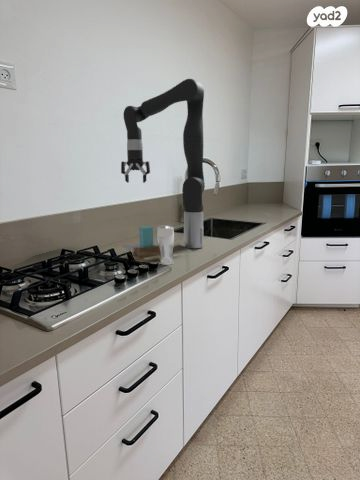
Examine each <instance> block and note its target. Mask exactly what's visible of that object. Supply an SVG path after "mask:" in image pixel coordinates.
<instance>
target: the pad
mask: <svg viewBox="0 0 360 480" xmlns="http://www.w3.org/2000/svg"><path fill="white" fill-rule="evenodd" d="M133 246H137V247H139V248H140V243H133V244H125V245H122V247H123V248H125V249H127V250H128V251H133Z"/></svg>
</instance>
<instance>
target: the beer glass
mask: <svg viewBox="0 0 360 480" xmlns="http://www.w3.org/2000/svg"><path fill="white" fill-rule="evenodd" d="M156 229H157V230H156V242H157V243H156V244H157V246H158V249H159V261H158V264H159V265H160V264H162V265H161V266H170V265H173V264H174V257H173V251H174V245H175V230H174V229H175V228H174V226H173V225H159V226H157V228H156Z"/></svg>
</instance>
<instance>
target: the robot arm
mask: <svg viewBox="0 0 360 480" xmlns="http://www.w3.org/2000/svg"><path fill="white" fill-rule="evenodd" d="M204 98H205V89H204V86H203V85H202V83H201V82H199V81H197V80H195V79H193V78H187V79H184V80H182V81H181V82H179V83H178V84H176V85H175V86H173V87H172V88H170V89H168V90H166V91H165V92H162V93H160V94H159V95H156V96H154V97H152V98H149V99H147V100H144V101H143V102H142V103H141V105H140V106H133V105H127V106H126V107H125V108H124V109H123V121H124V124H125V128H126V136H127V137H126V138H127V141H126V142H127V143H126V152H127V161H121V163H120V168H121V169H120V172H121V174H122V175H124V180H125V182H126V183H129V182H130V178H129V177H130V175H129V174H130V172H131V171H140V172H141V174H142V183H144V184H145V183H146V182H147V175H149V174H150V173H151V169H150V167H151V166H150V161H144V160H143V159H144V158H143V155H144V153H143V151H144V150H143V148H144V147H143V142H142V141H143V140H142V128H141V127H139V126H138V123H141V122H143V121H145V120H146V119H148V118H149V117H151V116H154V115H156V114H159V113H162V112H163V111H164V110H166V109H168V108H169V107H171V106H172V105H173V104H177V103H181V102H185V101H186V105H187V106H186V107H187V108H186V109H187V115H186V116H187V117H186V121H185V124H184V128H183V134H182V141H183V142H182V144H183V145H182V146H183V152H184V156H185V160H186V165H187V166H186V167H187V178H186V179H185V180H183V183H182V187H181V188H182V191H181V193H182V196H181V197H182V206H183V247H184V248H187V249H201V248H202V249H203V247H204V205H203V193H204V191H205V187H206V186H205V184H206V183H205V177H204V176H205V175H204V169H203V168H204V167H203V163H204V121H203V120H204V117H203V116H204V115H203V113H204V111H203V110H204V101H205V99H204ZM126 166H128V167H127V169H126ZM143 166H145V168H146V171H145V169H144V168H143Z"/></svg>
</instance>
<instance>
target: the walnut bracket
mask: <svg viewBox="0 0 360 480" xmlns="http://www.w3.org/2000/svg"><path fill="white" fill-rule="evenodd" d="M127 252H128V251H127ZM127 252H126V251H125V252H124V254H126V253H127ZM131 252H132V254H133V256H134V259H135V260H136V261H142V262H148V263H153V262H155V263H156V262H159V249H158V245H155V244H154V243H153V246H151V247H142V248H139V247H137V246H133V250H132V251H131Z"/></svg>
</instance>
